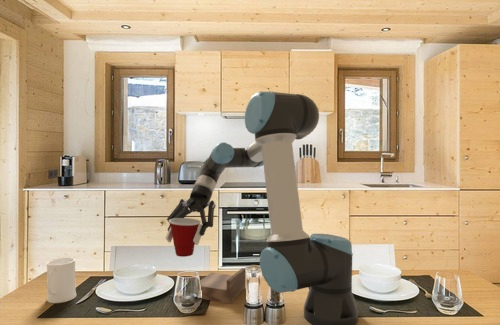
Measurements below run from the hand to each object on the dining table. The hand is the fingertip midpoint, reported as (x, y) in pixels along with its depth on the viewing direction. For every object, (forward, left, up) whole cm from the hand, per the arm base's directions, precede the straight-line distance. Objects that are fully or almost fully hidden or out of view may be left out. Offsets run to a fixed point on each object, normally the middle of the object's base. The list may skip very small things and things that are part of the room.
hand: (181, 241), depth 122 cm
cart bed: (-13, -3, -17) cm, 21 cm away
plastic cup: (0, -3, -5) cm, 6 cm away
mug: (+33, +20, -17) cm, 42 cm away
